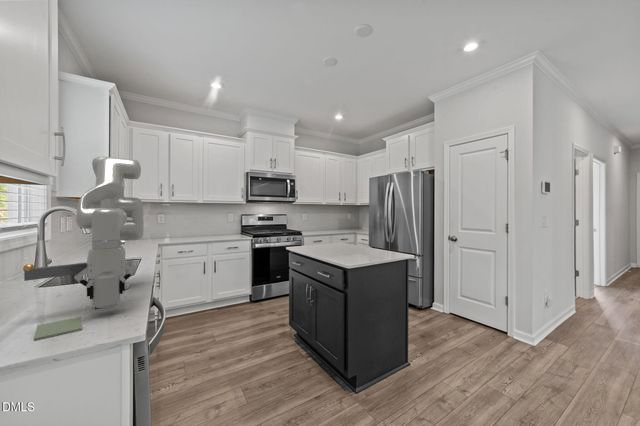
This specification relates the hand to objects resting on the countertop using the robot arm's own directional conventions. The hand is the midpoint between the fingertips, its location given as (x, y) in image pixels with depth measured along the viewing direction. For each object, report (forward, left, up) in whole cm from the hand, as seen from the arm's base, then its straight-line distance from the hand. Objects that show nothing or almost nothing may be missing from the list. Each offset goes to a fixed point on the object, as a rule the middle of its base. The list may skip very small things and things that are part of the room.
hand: (106, 295), depth 93 cm
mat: (+5, -12, -7) cm, 14 cm away
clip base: (-11, 0, -7) cm, 13 cm away
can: (0, 0, -4) cm, 4 cm away
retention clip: (-10, -10, -5) cm, 15 cm away
